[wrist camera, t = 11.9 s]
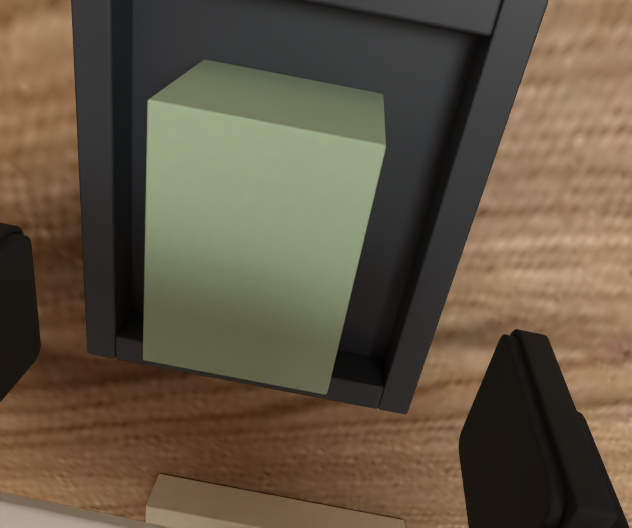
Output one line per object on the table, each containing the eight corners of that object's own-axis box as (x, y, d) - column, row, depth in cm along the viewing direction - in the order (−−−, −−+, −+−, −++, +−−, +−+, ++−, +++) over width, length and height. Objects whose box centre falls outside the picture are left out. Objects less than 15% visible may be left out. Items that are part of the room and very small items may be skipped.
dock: (527, -9, 15) (549, -1, 13) (404, 374, 21) (406, 415, 19) (103, -91, 15) (64, -96, 13) (110, 318, 21) (86, 354, 19)
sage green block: (383, 93, 16) (386, 145, 12) (336, 302, 19) (326, 396, 15) (203, 58, 16) (146, 98, 12) (189, 274, 19) (142, 361, 15)
